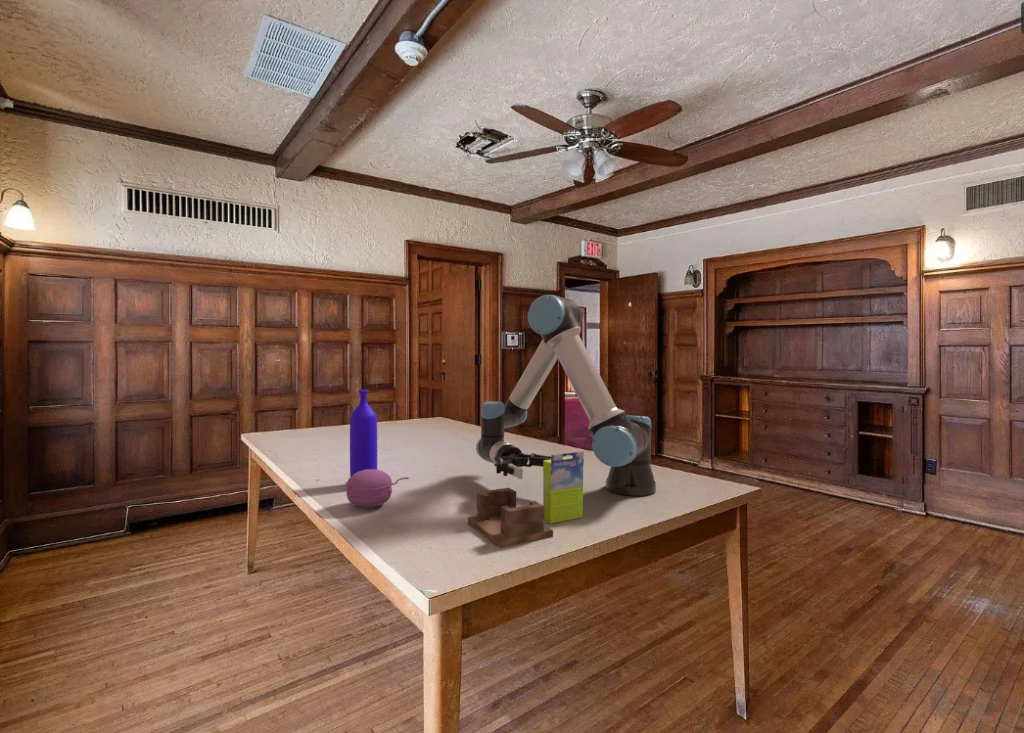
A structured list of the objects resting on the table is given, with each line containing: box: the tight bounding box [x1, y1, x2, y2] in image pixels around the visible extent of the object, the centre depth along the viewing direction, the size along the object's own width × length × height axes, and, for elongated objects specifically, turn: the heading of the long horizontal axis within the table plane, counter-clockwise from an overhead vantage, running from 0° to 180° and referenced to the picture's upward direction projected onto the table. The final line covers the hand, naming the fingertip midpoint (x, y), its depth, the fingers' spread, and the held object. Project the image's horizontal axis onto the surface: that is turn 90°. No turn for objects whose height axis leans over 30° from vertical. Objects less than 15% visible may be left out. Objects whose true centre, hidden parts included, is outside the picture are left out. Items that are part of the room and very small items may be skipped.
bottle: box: [349, 389, 378, 478], centre depth 159 cm, size 8×8×30 cm
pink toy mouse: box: [345, 469, 410, 509], centre depth 140 cm, size 12×19×10 cm, turn 120°
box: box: [542, 450, 585, 524], centre depth 129 cm, size 10×4×17 cm, turn 119°
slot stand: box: [467, 487, 554, 548], centre depth 121 cm, size 14×17×8 cm
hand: (543, 471), depth 137 cm, fingers open, 13 cm apart
